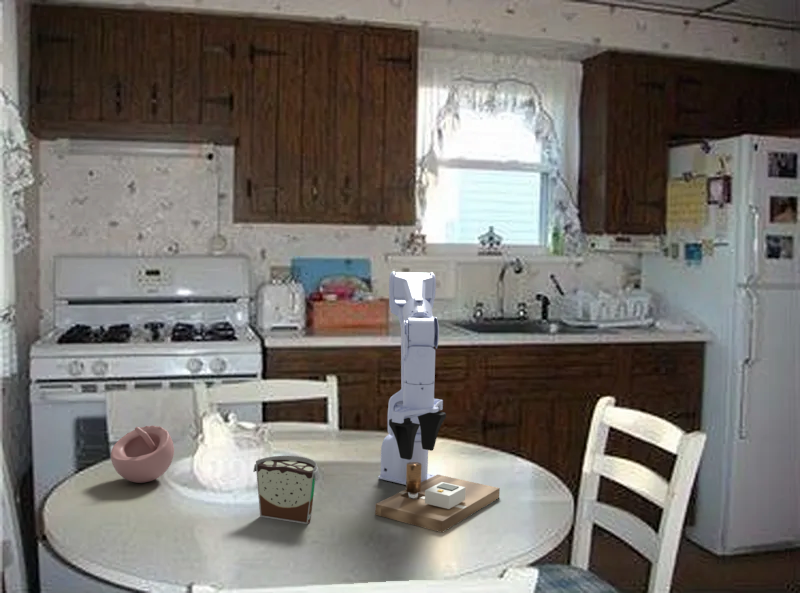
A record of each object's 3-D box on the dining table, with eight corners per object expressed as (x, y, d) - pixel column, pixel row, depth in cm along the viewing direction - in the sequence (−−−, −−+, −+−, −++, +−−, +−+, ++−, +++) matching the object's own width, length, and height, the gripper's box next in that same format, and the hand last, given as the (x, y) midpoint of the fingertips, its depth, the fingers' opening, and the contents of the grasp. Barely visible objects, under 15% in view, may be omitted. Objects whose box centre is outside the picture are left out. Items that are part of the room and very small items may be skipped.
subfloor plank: (375, 514, 139) (375, 503, 139) (437, 484, 157) (437, 474, 157) (442, 532, 131) (442, 520, 131) (499, 498, 150) (499, 487, 150)
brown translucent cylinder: (402, 506, 144) (403, 464, 143) (410, 502, 146) (411, 461, 145) (415, 509, 142) (416, 467, 142) (423, 505, 145) (424, 463, 144)
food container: (330, 513, 139) (331, 459, 138) (315, 525, 133) (316, 468, 132) (269, 504, 143) (270, 451, 142) (252, 515, 137) (253, 460, 136)
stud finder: (424, 503, 139) (425, 489, 139) (441, 494, 144) (441, 480, 144) (448, 509, 136) (449, 494, 136) (465, 500, 141) (465, 486, 141)
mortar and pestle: (97, 485, 151) (97, 428, 150) (139, 469, 162) (139, 415, 161) (146, 494, 147) (146, 435, 146) (186, 477, 158) (186, 422, 157)
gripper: (416, 390, 134) (414, 467, 135) (457, 379, 146) (455, 449, 147) (383, 385, 138) (381, 459, 139) (425, 374, 150) (423, 443, 151)
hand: (417, 454), depth 144 cm, fingers open, 7 cm apart
